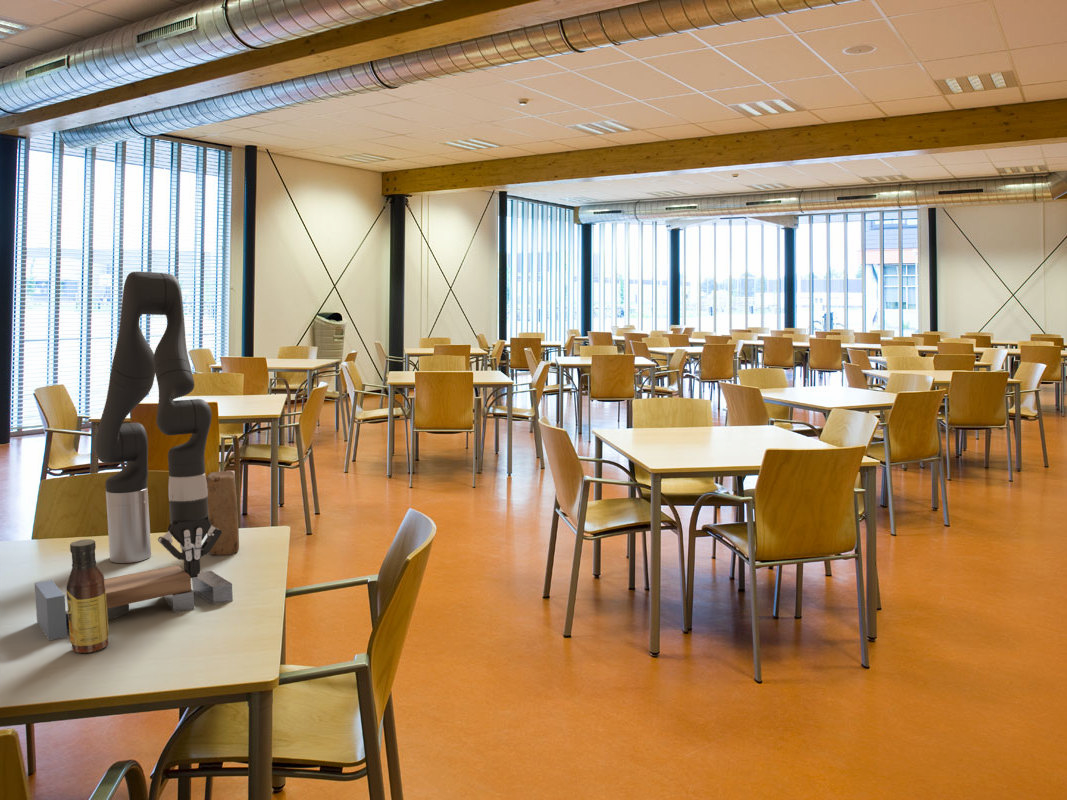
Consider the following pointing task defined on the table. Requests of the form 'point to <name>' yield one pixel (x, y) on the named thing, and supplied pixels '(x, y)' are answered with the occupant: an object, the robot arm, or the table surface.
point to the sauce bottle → (86, 600)
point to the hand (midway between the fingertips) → (192, 576)
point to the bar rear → (212, 588)
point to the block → (223, 511)
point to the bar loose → (108, 612)
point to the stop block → (51, 609)
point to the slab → (146, 585)
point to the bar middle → (181, 601)
